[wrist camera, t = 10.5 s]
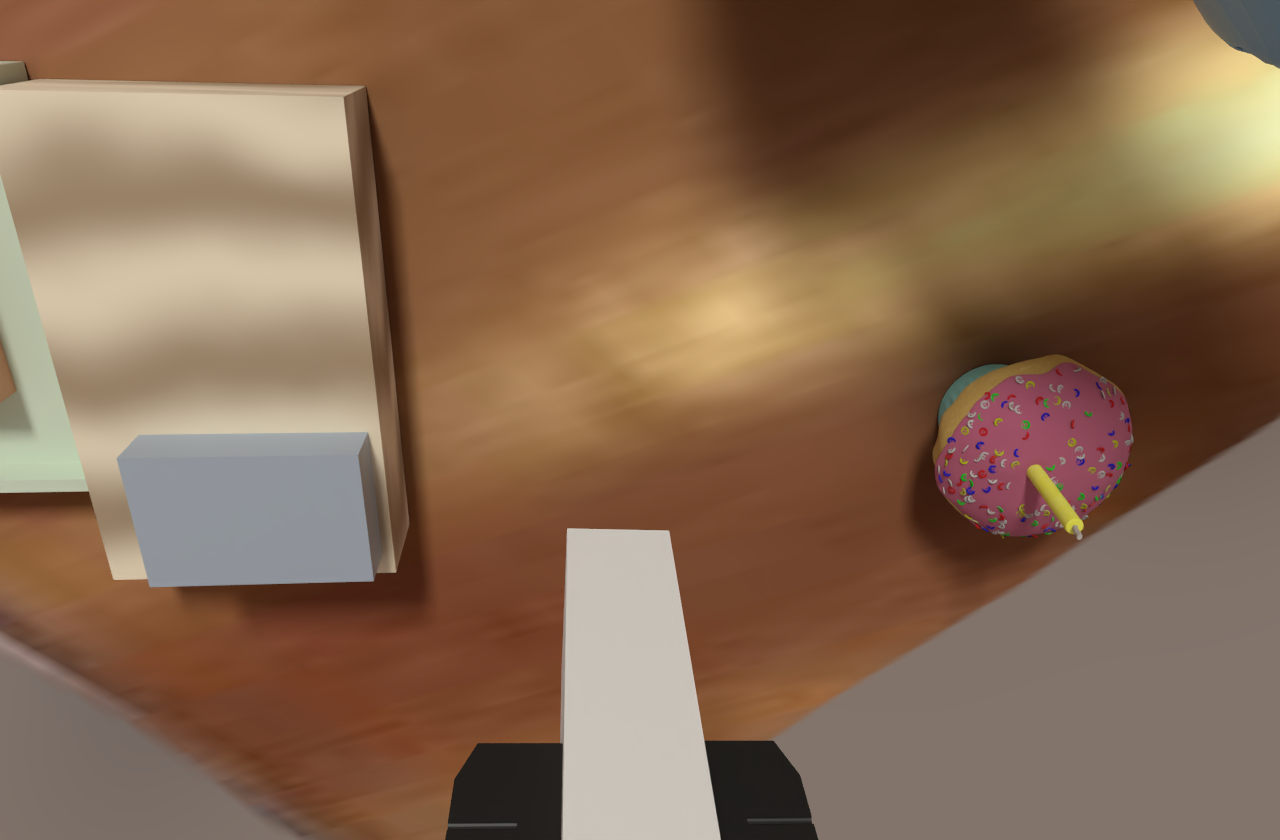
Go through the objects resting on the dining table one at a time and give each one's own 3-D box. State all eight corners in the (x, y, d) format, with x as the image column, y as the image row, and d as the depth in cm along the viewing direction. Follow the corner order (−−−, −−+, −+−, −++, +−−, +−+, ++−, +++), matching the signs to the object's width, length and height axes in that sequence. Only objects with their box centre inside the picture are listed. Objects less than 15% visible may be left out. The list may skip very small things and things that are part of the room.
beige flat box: (39, 79, 33) (-24, 89, 30) (365, 86, 34) (343, 97, 31) (151, 529, 42) (113, 579, 38) (409, 524, 43) (396, 572, 39)
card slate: (169, 559, 38) (149, 586, 36) (138, 434, 35) (116, 458, 34) (382, 554, 39) (373, 581, 37) (367, 431, 36) (358, 455, 34)
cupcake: (878, 471, 44) (983, 627, 33) (932, 310, 40) (1069, 426, 30) (1036, 491, 45) (1185, 647, 34) (1102, 336, 42) (1291, 457, 31)
